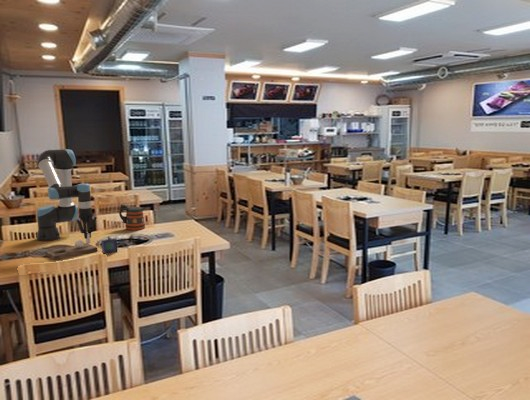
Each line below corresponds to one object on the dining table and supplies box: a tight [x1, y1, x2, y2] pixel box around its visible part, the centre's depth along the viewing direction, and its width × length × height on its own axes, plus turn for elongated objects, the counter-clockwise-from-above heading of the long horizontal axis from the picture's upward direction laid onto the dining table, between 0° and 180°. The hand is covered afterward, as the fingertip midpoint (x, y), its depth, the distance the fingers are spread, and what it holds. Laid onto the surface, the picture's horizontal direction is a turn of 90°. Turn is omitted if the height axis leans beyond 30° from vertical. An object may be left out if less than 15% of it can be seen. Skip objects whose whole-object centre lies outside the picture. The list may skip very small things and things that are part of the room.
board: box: [45, 242, 98, 261], centre depth 261 cm, size 16×26×2 cm, turn 136°
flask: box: [100, 235, 118, 254], centre depth 261 cm, size 9×3×11 cm, turn 117°
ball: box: [74, 239, 85, 248], centre depth 264 cm, size 5×5×5 cm
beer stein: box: [118, 204, 146, 231], centre depth 325 cm, size 19×15×20 cm
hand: (88, 242), depth 268 cm, fingers closed
